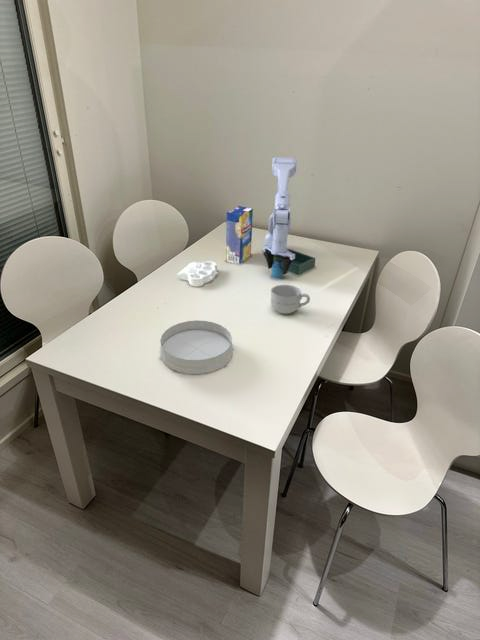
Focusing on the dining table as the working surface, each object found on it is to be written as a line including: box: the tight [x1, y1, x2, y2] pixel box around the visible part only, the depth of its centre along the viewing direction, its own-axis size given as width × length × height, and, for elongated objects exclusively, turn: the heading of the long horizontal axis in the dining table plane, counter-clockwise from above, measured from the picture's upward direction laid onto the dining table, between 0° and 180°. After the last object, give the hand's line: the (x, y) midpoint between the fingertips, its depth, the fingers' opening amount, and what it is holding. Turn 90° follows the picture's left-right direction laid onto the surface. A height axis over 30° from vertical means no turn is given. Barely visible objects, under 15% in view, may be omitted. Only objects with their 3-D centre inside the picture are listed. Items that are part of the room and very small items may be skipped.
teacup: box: [270, 284, 311, 315], centre depth 163 cm, size 14×11×8 cm
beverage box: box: [225, 205, 254, 264], centre depth 198 cm, size 7×11×22 cm, turn 153°
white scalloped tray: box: [177, 260, 219, 288], centre depth 186 cm, size 3×18×15 cm
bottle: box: [271, 258, 284, 280], centre depth 186 cm, size 5×5×8 cm
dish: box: [159, 320, 233, 375], centre depth 140 cm, size 22×22×5 cm
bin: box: [273, 248, 317, 276], centre depth 197 cm, size 15×12×5 cm
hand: (277, 270), depth 187 cm, fingers open, 7 cm apart
